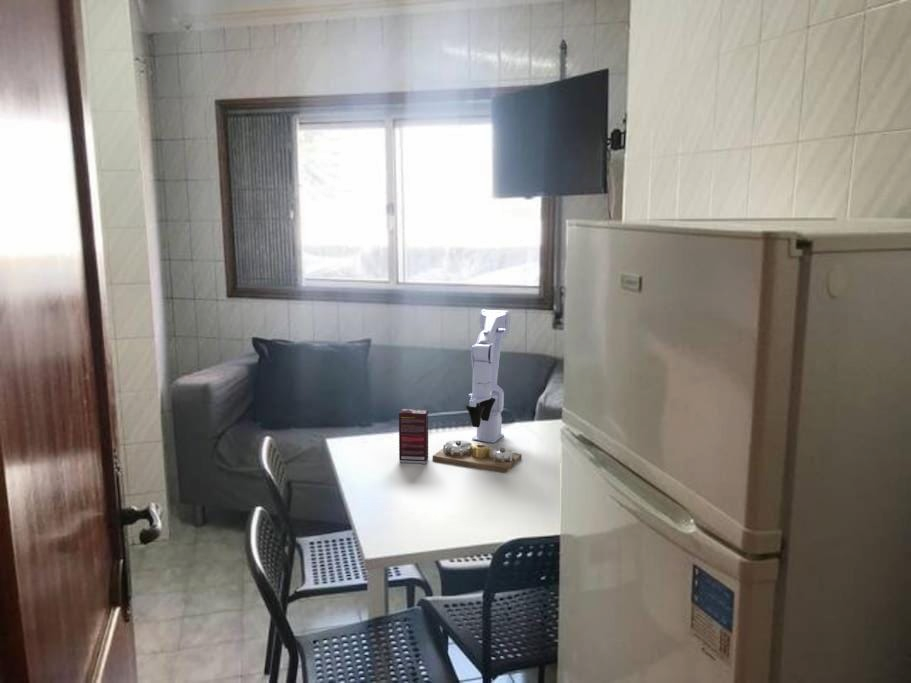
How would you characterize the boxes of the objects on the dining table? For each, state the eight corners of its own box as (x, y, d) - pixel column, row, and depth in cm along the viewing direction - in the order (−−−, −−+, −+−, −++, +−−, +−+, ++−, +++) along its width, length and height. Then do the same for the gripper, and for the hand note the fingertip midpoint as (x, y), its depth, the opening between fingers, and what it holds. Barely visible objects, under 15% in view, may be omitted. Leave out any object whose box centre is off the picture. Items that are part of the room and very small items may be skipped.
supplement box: (428, 459, 233) (429, 409, 230) (426, 464, 228) (427, 413, 225) (401, 457, 234) (401, 408, 231) (398, 462, 229) (398, 412, 226)
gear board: (451, 447, 244) (451, 432, 243) (521, 458, 235) (521, 442, 234) (432, 460, 232) (432, 444, 231) (505, 472, 222) (506, 456, 221)
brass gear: (476, 451, 236) (476, 442, 236) (492, 454, 234) (493, 444, 233) (468, 456, 231) (468, 447, 231) (485, 459, 229) (485, 450, 228)
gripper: (478, 375, 244) (477, 416, 247) (460, 385, 231) (459, 427, 234) (498, 378, 241) (497, 418, 244) (481, 387, 228) (480, 430, 231)
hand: (480, 423), depth 239 cm, fingers open, 7 cm apart
